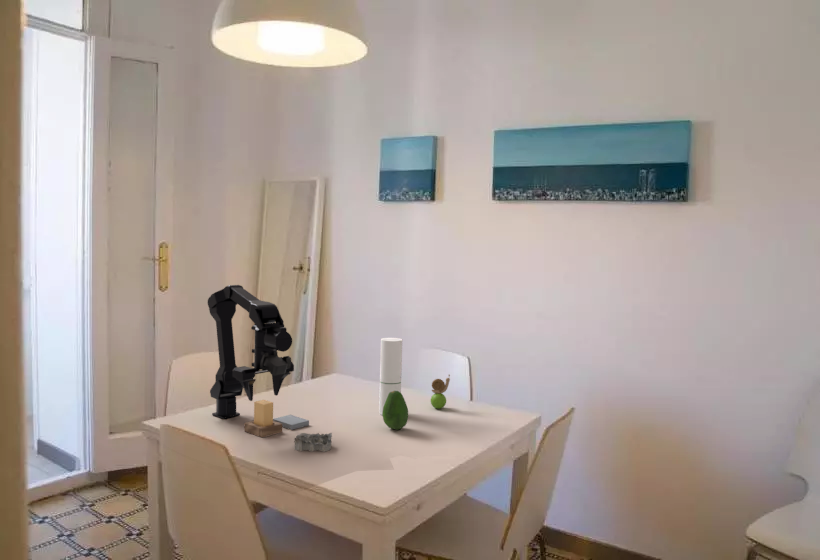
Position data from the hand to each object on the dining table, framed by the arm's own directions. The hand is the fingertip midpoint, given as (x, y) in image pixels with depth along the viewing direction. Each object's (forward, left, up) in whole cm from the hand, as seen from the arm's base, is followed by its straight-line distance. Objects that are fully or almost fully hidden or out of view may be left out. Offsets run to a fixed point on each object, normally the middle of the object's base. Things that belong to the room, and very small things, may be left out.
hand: (263, 397), depth 199 cm
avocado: (+26, +30, -10) cm, 41 cm away
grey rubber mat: (0, +10, -10) cm, 15 cm away
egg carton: (+21, +1, -11) cm, 24 cm away
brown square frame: (0, 0, -10) cm, 10 cm away
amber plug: (0, 0, -10) cm, 10 cm away
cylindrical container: (+13, +42, -10) cm, 45 cm away
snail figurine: (+21, +59, -10) cm, 64 cm away
